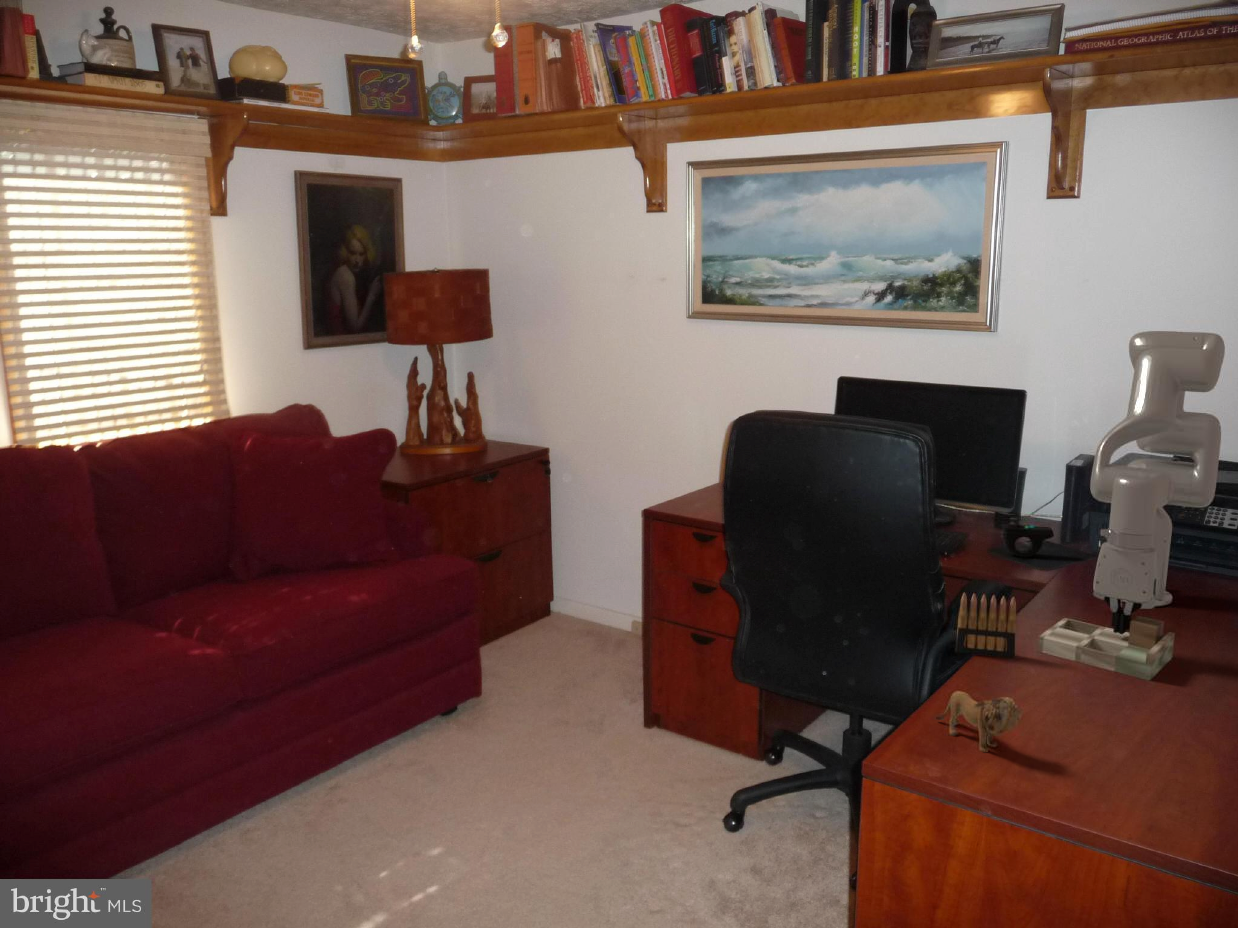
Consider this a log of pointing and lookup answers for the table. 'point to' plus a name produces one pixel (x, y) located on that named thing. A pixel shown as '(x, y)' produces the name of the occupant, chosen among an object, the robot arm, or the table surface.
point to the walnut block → (1145, 632)
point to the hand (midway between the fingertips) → (1120, 631)
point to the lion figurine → (983, 716)
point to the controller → (1017, 531)
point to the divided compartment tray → (1105, 648)
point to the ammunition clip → (986, 628)
